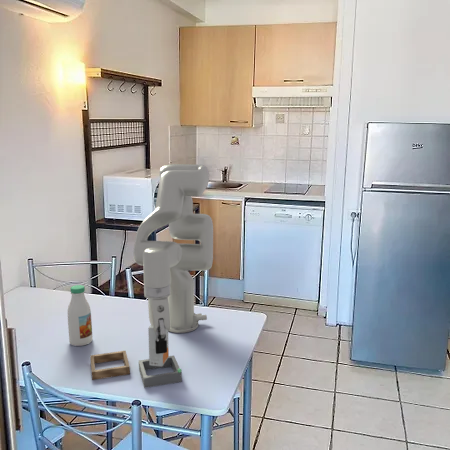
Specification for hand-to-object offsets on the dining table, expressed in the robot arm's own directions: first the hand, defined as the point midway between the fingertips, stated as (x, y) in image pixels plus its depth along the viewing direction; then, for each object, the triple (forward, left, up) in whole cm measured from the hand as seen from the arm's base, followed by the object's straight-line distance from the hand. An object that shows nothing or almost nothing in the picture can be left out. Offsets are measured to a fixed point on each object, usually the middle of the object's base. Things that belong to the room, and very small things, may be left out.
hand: (159, 346), depth 143 cm
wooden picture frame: (+14, -9, -9) cm, 19 cm away
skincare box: (0, 0, -5) cm, 5 cm away
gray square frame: (0, 0, -9) cm, 9 cm away
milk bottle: (+22, -31, -10) cm, 39 cm away
